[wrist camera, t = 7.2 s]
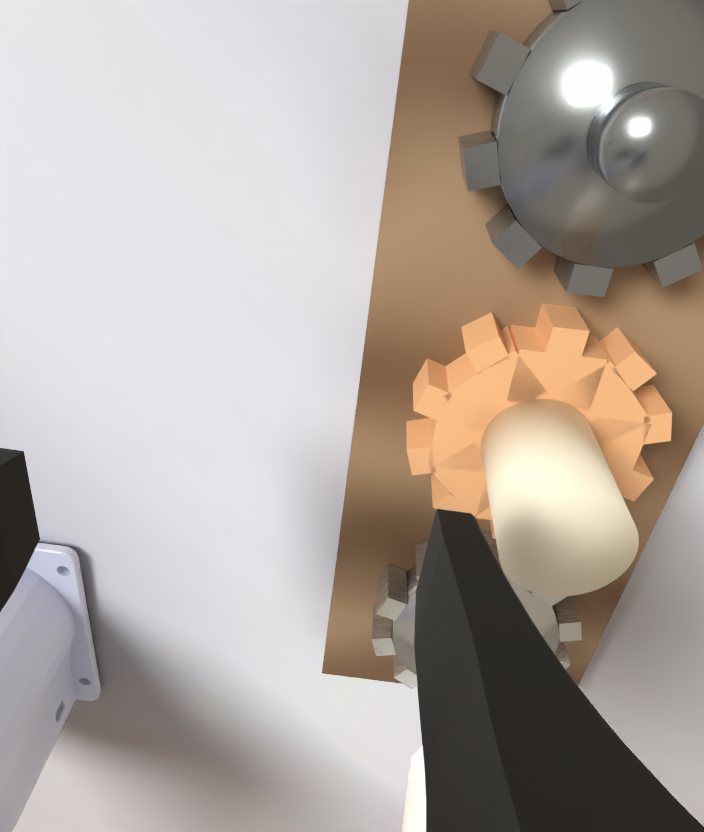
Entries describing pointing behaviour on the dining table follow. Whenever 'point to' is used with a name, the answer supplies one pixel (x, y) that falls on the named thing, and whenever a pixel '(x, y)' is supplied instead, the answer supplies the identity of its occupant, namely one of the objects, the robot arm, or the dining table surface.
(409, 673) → the gear
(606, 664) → the dining table surface
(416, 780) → the foam cup
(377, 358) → the gear board
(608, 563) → the loose gear
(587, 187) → the gear
